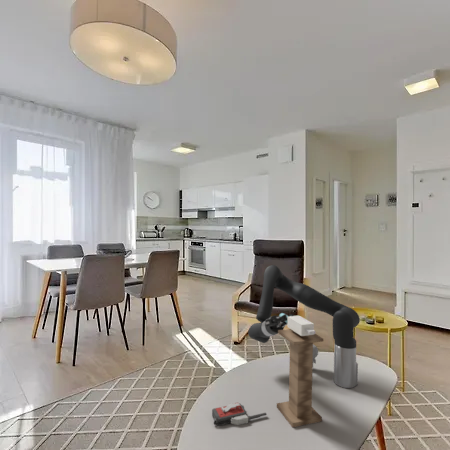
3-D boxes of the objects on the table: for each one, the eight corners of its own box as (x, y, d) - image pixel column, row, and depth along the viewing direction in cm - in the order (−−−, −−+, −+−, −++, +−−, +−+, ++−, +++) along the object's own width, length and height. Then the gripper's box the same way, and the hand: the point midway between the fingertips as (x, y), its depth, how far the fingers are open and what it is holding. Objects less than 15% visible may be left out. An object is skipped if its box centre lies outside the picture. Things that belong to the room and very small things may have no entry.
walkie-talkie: (216, 432, 103) (267, 419, 110) (216, 419, 103) (268, 407, 110) (208, 416, 111) (256, 405, 119) (208, 404, 111) (257, 394, 119)
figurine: (312, 364, 154) (312, 340, 154) (320, 371, 146) (321, 346, 146) (297, 366, 152) (298, 342, 151) (305, 373, 144) (306, 348, 144)
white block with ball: (286, 318, 128) (286, 308, 128) (318, 337, 106) (318, 326, 106) (275, 318, 126) (275, 309, 126) (306, 339, 105) (306, 327, 105)
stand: (303, 402, 121) (305, 327, 120) (321, 421, 109) (323, 338, 109) (276, 407, 117) (278, 330, 117) (292, 427, 106) (294, 342, 105)
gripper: (256, 318, 134) (271, 308, 120) (284, 316, 139) (302, 306, 124) (259, 336, 131) (275, 328, 117) (288, 333, 135) (307, 324, 121)
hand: (289, 316), depth 121 cm, fingers closed on white block with ball, 2 cm apart
